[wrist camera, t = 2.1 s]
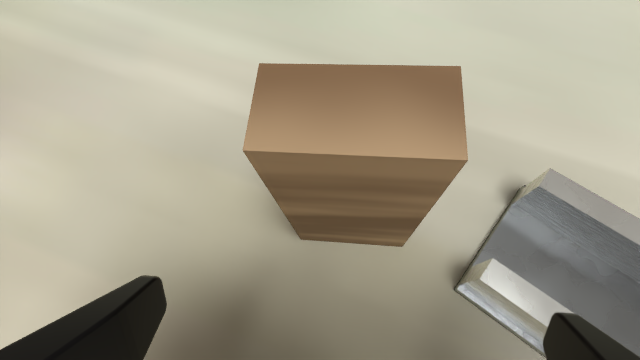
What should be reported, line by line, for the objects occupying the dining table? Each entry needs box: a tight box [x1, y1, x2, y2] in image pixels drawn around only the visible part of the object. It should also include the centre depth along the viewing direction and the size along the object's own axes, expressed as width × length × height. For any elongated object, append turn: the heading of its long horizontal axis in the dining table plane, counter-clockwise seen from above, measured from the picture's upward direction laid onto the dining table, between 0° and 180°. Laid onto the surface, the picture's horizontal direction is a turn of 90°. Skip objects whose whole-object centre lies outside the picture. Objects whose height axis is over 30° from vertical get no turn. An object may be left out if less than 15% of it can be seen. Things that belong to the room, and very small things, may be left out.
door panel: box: [243, 63, 468, 247], centre depth 15 cm, size 3×6×12 cm, turn 85°
